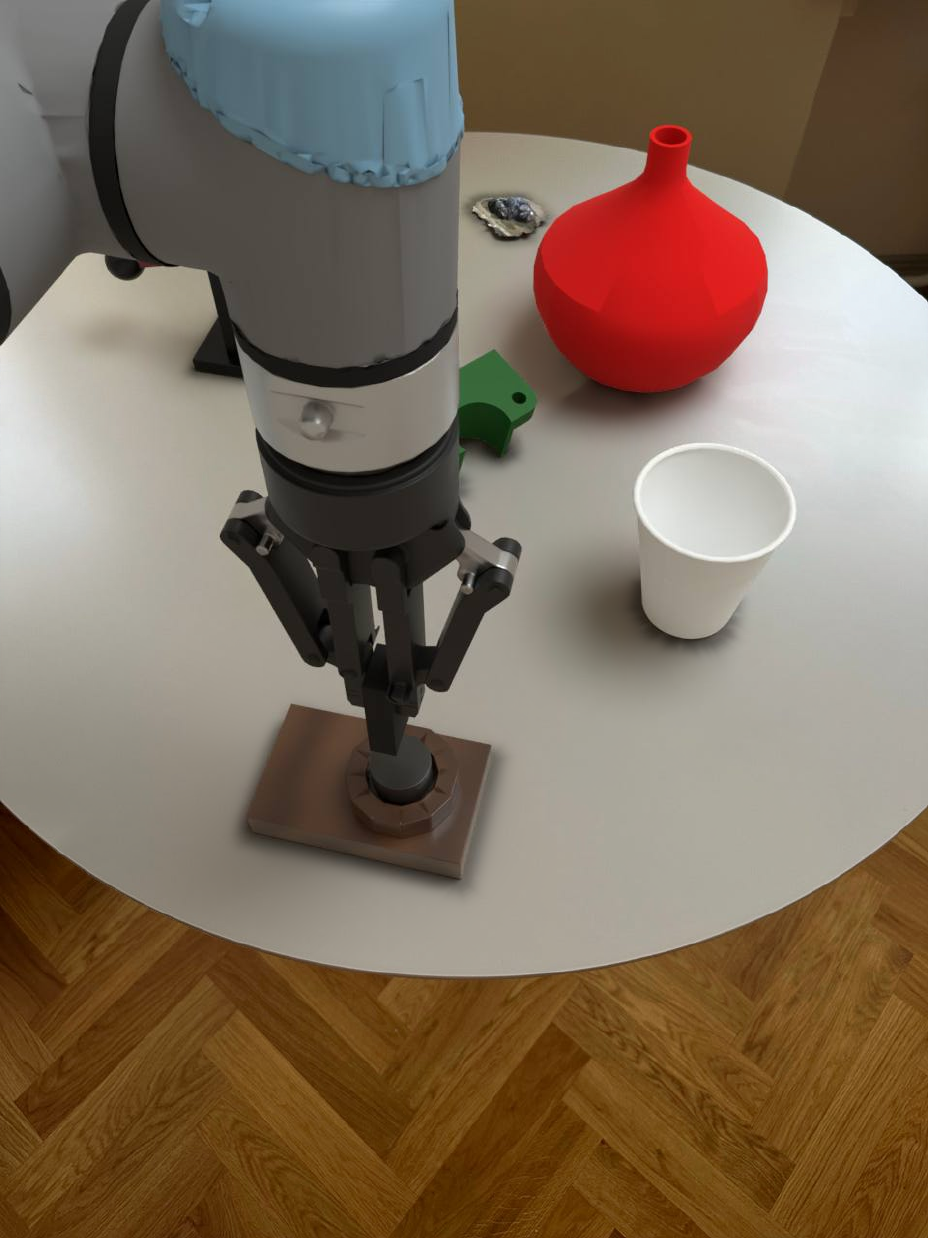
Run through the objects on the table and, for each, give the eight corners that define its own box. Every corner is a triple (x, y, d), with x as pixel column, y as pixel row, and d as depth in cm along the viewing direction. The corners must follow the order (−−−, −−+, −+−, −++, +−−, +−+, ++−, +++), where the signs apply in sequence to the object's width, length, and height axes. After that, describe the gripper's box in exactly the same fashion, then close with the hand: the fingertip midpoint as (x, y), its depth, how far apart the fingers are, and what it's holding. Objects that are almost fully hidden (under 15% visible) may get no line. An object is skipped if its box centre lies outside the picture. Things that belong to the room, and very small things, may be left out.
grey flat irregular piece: (518, 249, 97) (519, 231, 96) (452, 219, 100) (452, 201, 99) (561, 216, 100) (562, 198, 99) (495, 188, 103) (495, 170, 102)
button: (363, 796, 60) (361, 782, 59) (381, 743, 62) (379, 728, 61) (423, 809, 60) (422, 795, 58) (439, 755, 62) (438, 740, 60)
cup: (785, 603, 72) (828, 495, 64) (701, 691, 68) (735, 589, 59) (671, 530, 76) (696, 419, 68) (585, 608, 72) (600, 501, 63)
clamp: (435, 522, 83) (410, 487, 74) (390, 469, 84) (360, 429, 76) (550, 424, 83) (538, 378, 74) (502, 373, 84) (486, 322, 75)
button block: (252, 832, 63) (240, 802, 59) (295, 720, 67) (286, 687, 64) (461, 879, 61) (460, 852, 58) (491, 761, 65) (492, 729, 62)
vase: (758, 431, 82) (822, 213, 67) (527, 425, 83) (538, 208, 68) (735, 288, 93) (785, 72, 78) (531, 284, 94) (541, 69, 79)
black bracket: (194, 370, 88) (160, 247, 78) (225, 319, 92) (195, 196, 82) (307, 388, 86) (286, 265, 77) (333, 335, 90) (316, 212, 81)
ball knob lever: (110, 289, 85) (90, 255, 83) (126, 266, 87) (107, 232, 85) (260, 279, 81) (244, 242, 78) (274, 255, 82) (259, 218, 80)
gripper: (147, 451, 37) (254, 766, 56) (509, 517, 35) (490, 819, 54) (225, 318, 41) (299, 653, 60) (551, 372, 39) (520, 699, 58)
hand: (390, 732), depth 57 cm, fingers closed
